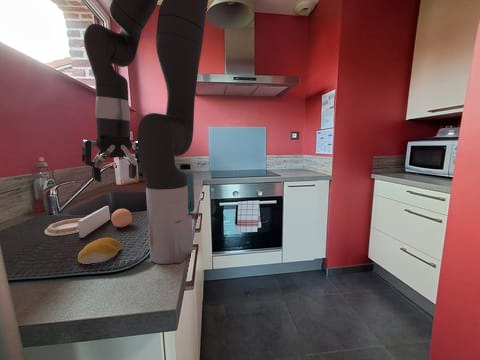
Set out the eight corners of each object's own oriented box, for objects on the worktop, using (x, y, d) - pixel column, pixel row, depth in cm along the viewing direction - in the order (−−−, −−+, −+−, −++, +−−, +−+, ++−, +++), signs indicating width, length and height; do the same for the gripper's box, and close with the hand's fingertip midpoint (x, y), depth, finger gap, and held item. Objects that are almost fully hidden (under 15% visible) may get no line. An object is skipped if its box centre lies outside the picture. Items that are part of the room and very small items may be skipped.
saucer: (100, 223, 73) (100, 219, 73) (64, 237, 62) (63, 232, 62) (74, 220, 76) (73, 216, 76) (34, 233, 65) (33, 228, 65)
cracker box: (133, 181, 160) (131, 153, 157) (139, 182, 158) (137, 154, 154) (115, 184, 148) (113, 154, 145) (121, 185, 145) (118, 154, 142)
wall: (107, 219, 78) (105, 206, 77) (109, 219, 78) (108, 205, 77) (79, 237, 62) (77, 221, 61) (83, 237, 62) (81, 221, 61)
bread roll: (124, 246, 57) (123, 232, 57) (112, 263, 49) (111, 247, 48) (89, 249, 56) (88, 234, 55) (71, 267, 47) (69, 250, 46)
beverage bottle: (182, 211, 88) (180, 162, 85) (197, 212, 86) (196, 163, 83) (174, 216, 81) (172, 164, 78) (190, 217, 80) (189, 164, 77)
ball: (136, 224, 73) (135, 207, 72) (122, 230, 67) (121, 212, 66) (122, 222, 75) (120, 205, 74) (107, 228, 69) (105, 210, 68)
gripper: (85, 114, 47) (90, 186, 50) (147, 121, 58) (148, 179, 61) (75, 114, 51) (80, 180, 55) (134, 120, 62) (135, 174, 66)
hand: (116, 179), depth 58 cm, fingers open, 8 cm apart
